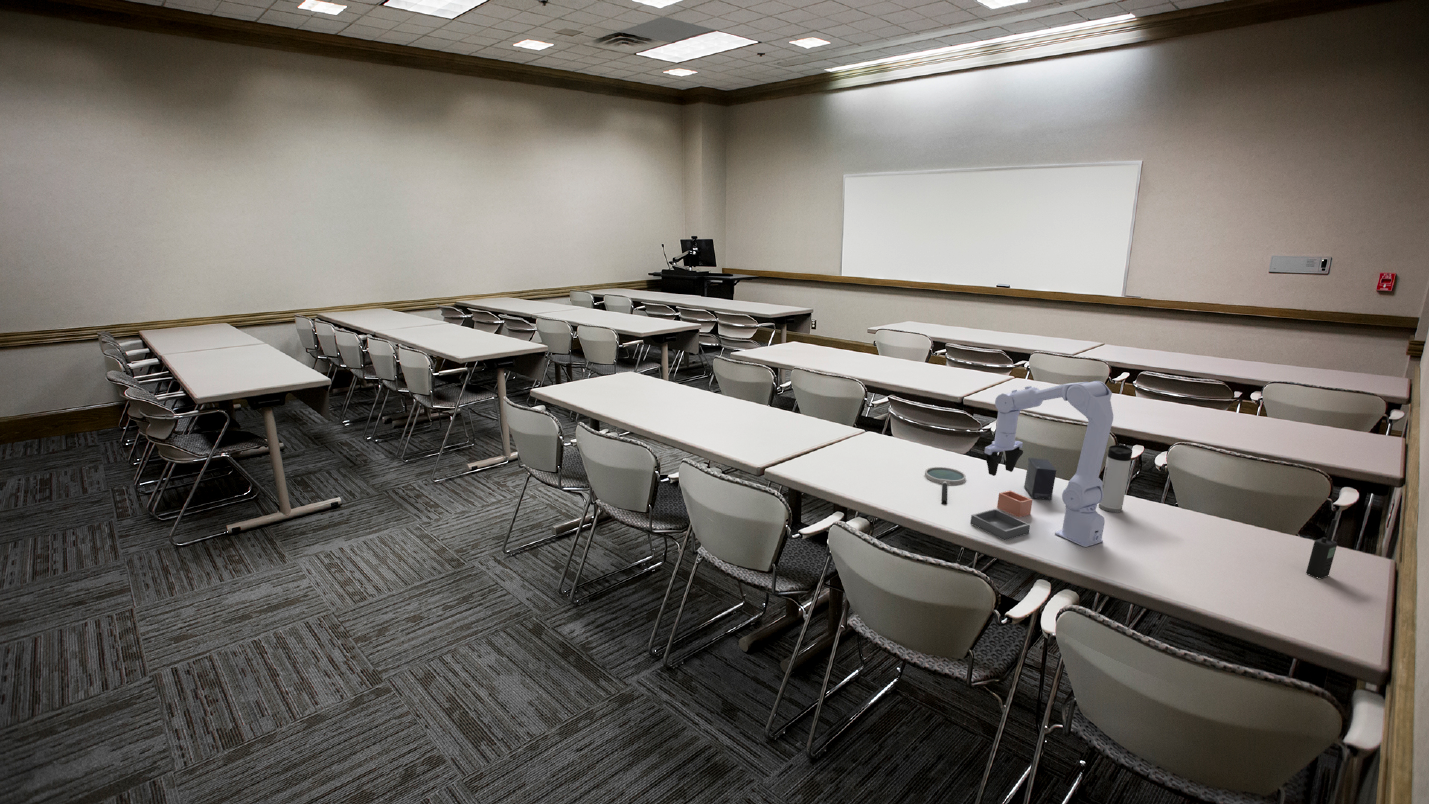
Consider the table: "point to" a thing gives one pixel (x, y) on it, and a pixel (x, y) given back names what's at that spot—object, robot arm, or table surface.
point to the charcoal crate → (1000, 524)
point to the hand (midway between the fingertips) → (1000, 472)
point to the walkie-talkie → (1322, 555)
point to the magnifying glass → (945, 478)
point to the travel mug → (1115, 477)
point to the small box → (1040, 478)
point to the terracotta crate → (1014, 503)
